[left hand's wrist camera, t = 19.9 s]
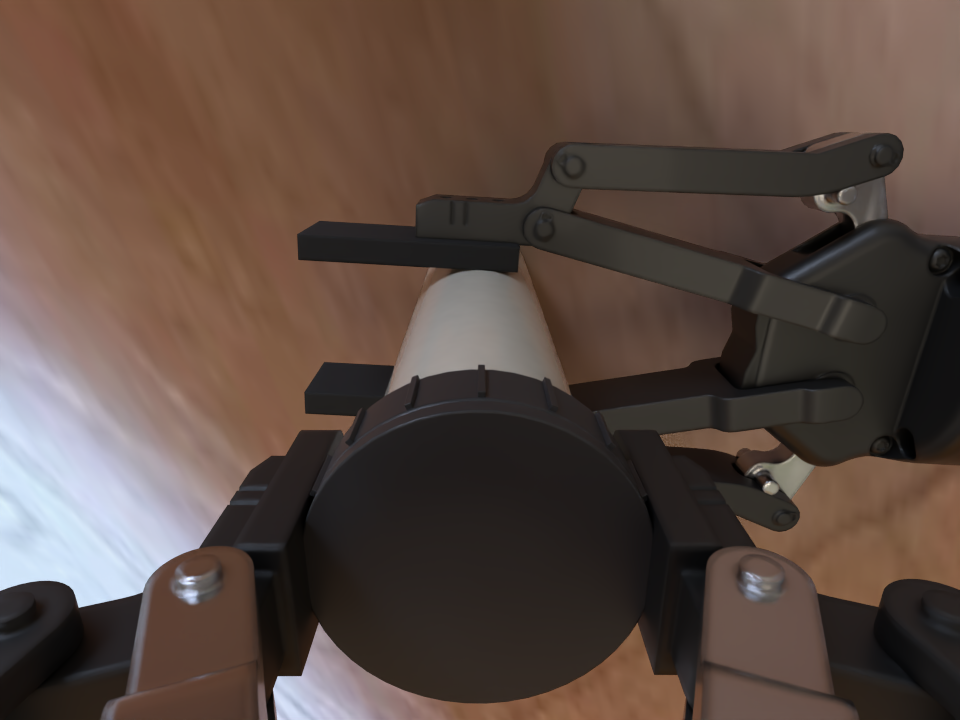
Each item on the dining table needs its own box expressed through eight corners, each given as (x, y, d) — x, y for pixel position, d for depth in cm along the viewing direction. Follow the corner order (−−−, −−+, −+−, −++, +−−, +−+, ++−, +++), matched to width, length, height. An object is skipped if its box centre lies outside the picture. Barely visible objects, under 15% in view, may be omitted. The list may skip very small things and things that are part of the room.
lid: (284, 395, 10) (249, 442, 8) (617, 338, 10) (643, 377, 8) (365, 649, 12) (347, 725, 10) (646, 609, 11) (672, 682, 10)
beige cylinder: (520, 331, 28) (586, 655, 11) (423, 320, 27) (336, 631, 11) (535, 235, 26) (639, 434, 9) (433, 222, 26) (349, 402, 9)
